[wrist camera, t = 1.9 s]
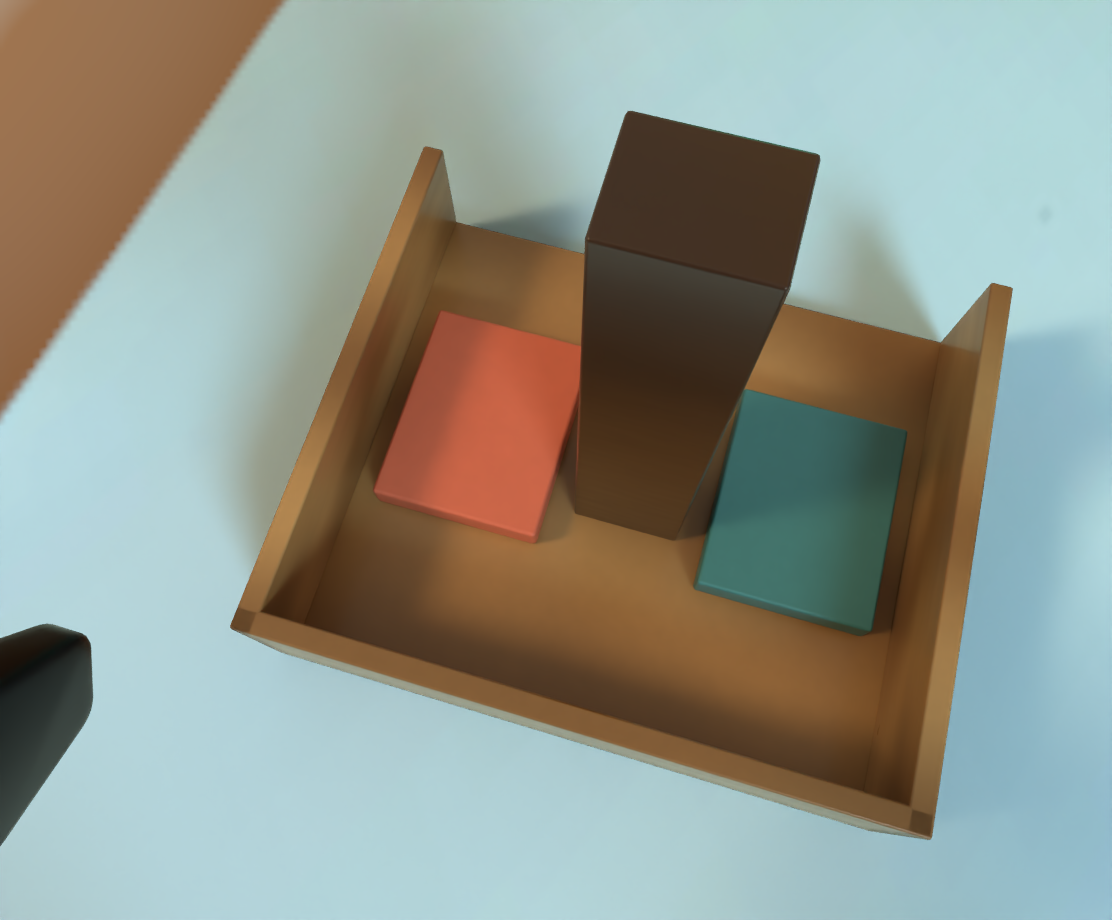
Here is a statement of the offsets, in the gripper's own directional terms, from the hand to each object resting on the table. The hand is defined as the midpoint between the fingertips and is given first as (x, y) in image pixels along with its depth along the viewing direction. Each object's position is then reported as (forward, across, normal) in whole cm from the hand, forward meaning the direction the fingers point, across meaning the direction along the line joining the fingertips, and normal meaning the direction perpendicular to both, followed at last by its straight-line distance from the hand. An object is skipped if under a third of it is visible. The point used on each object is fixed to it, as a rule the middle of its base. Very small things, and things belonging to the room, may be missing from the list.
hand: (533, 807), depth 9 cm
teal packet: (+14, -4, +3) cm, 15 cm away
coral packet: (+14, +4, +3) cm, 15 cm away
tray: (+14, 0, +4) cm, 15 cm away
